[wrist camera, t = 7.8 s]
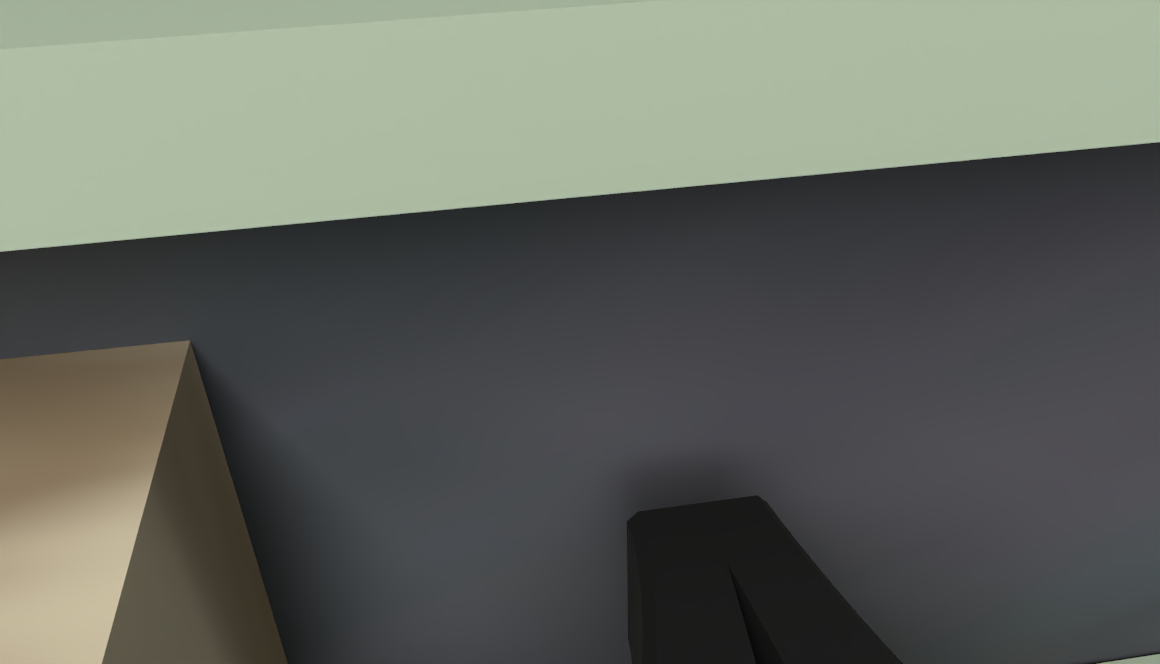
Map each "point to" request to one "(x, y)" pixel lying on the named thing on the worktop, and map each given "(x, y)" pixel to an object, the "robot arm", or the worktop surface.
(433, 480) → the worktop surface
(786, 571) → the robot arm
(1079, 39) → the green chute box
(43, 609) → the maple block
